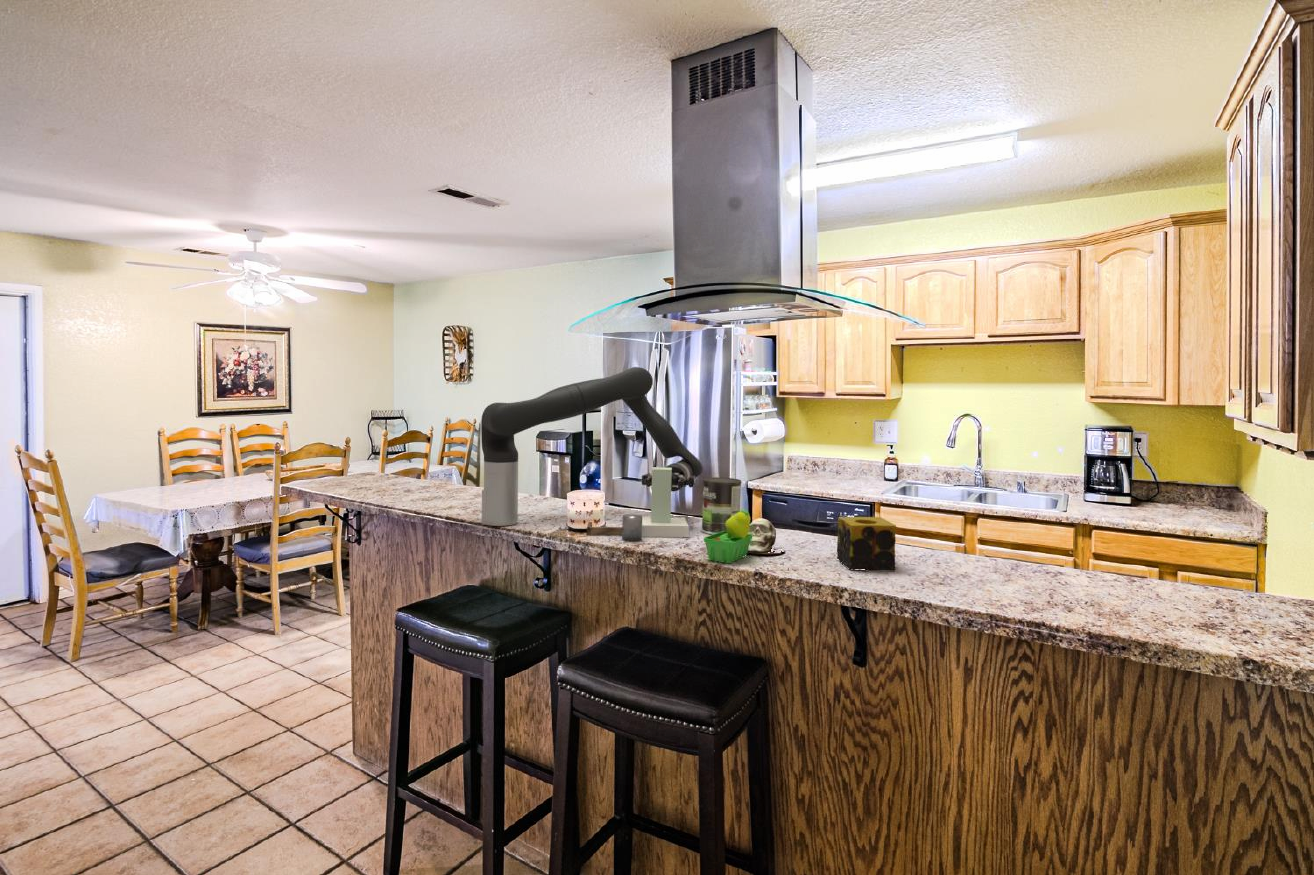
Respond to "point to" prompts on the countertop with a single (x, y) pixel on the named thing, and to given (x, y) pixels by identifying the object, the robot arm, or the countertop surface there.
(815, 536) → the countertop surface
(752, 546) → the skull
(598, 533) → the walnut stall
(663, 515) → the sage block
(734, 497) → the coffee can
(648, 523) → the white platform
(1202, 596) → the countertop surface
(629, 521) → the grey cylinder
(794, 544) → the countertop surface
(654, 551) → the countertop surface
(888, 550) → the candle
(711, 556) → the fruit basket
